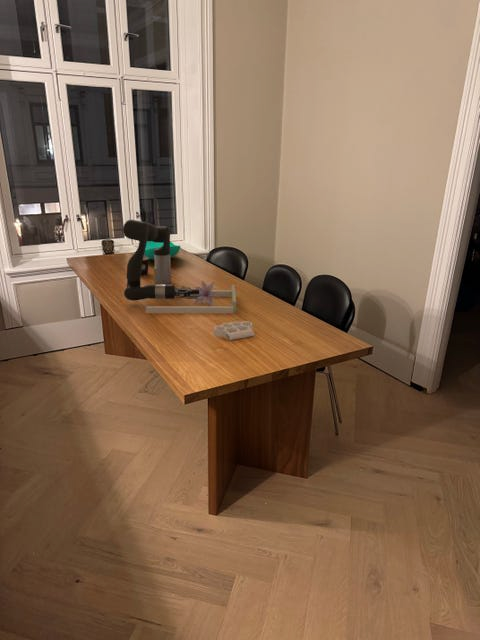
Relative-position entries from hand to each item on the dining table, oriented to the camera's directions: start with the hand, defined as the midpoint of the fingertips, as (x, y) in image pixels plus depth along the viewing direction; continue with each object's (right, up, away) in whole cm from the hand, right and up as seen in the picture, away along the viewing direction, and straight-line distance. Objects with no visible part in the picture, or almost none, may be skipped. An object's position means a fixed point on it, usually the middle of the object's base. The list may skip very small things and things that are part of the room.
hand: (199, 291), depth 221 cm
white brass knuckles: (+19, -21, -33) cm, 43 cm away
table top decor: (-37, +29, +92) cm, 103 cm away
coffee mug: (-43, +15, +55) cm, 71 cm away
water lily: (+2, -6, +5) cm, 8 cm away
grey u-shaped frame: (-3, -6, +2) cm, 7 cm away
